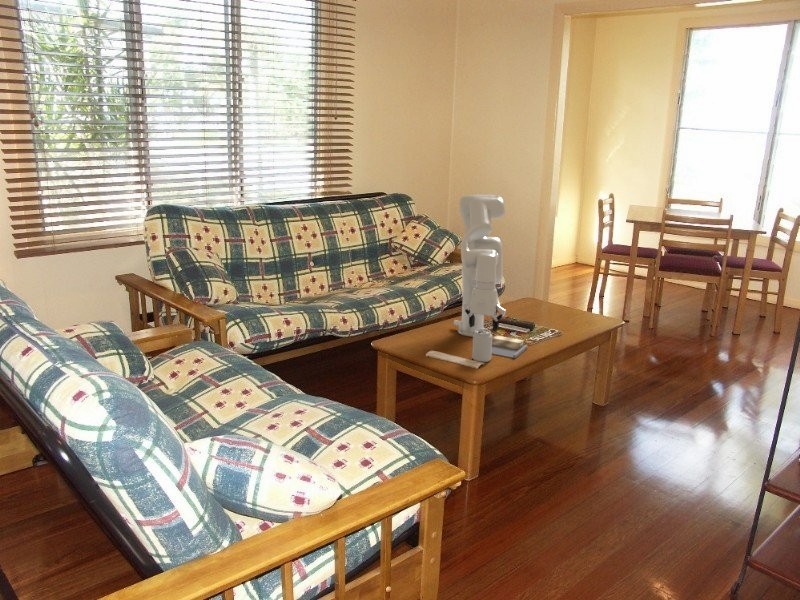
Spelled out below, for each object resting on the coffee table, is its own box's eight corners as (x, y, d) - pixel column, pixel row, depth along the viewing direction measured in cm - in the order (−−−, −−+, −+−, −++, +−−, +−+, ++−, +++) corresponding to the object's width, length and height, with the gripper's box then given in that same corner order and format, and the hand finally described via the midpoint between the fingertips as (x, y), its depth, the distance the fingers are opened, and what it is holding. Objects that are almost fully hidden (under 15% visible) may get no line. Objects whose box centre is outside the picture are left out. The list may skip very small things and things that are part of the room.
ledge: (492, 345, 296) (492, 338, 295) (495, 342, 299) (496, 335, 298) (519, 350, 290) (520, 343, 289) (522, 347, 294) (523, 340, 293)
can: (479, 355, 284) (480, 326, 281) (494, 359, 280) (496, 330, 277) (468, 360, 279) (469, 331, 276) (484, 364, 274) (485, 335, 271)
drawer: (478, 351, 288) (478, 348, 288) (491, 341, 300) (491, 338, 300) (515, 358, 281) (515, 355, 280) (527, 348, 293) (527, 345, 292)
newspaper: (425, 357, 283) (425, 353, 283) (435, 352, 289) (435, 348, 288) (477, 370, 270) (477, 366, 270) (486, 365, 276) (486, 360, 275)
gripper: (460, 284, 272) (459, 327, 276) (503, 290, 264) (500, 334, 268) (468, 280, 278) (467, 322, 282) (510, 286, 270) (508, 329, 274)
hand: (483, 328), depth 275 cm, fingers open, 9 cm apart
